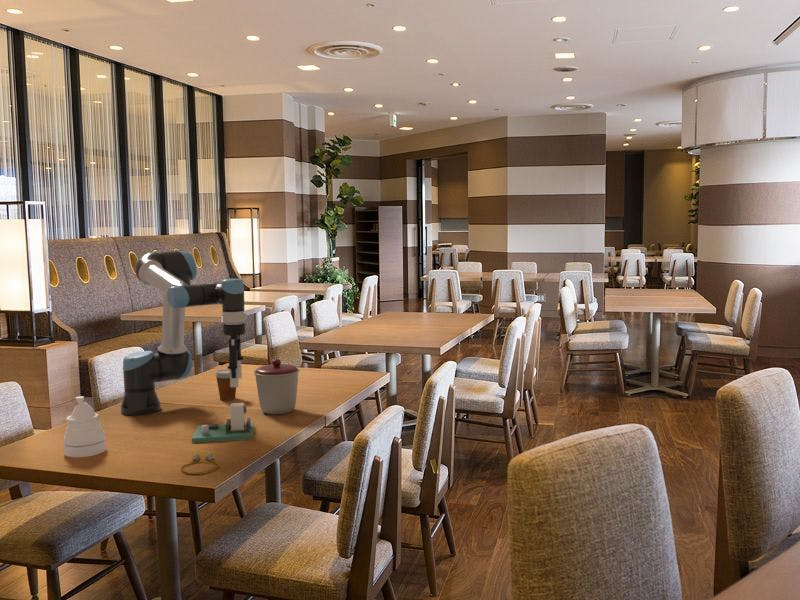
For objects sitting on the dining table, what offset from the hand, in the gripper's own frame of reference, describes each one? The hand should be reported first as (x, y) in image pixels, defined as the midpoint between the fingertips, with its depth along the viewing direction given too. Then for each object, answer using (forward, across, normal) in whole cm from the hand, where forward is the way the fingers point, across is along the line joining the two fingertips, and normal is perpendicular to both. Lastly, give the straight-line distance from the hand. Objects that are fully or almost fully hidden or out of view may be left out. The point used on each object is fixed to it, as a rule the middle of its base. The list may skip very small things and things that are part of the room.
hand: (236, 382), depth 260 cm
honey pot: (+19, -11, +49) cm, 54 cm away
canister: (+19, +29, -13) cm, 37 cm away
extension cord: (+19, -34, +8) cm, 40 cm away
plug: (+17, 0, 0) cm, 17 cm away
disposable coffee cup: (+19, +54, +9) cm, 58 cm away
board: (+18, 0, +5) cm, 19 cm away
